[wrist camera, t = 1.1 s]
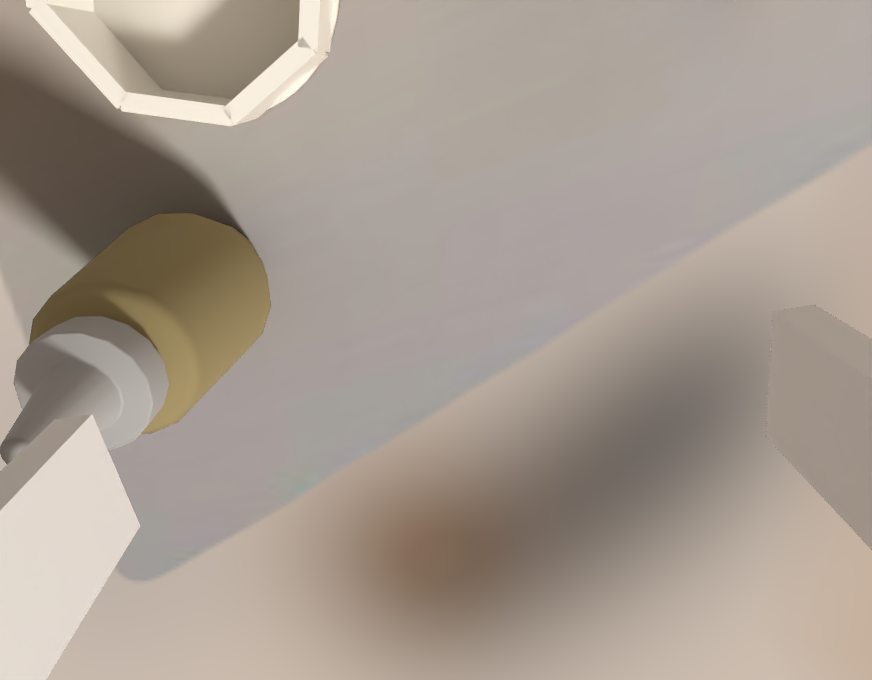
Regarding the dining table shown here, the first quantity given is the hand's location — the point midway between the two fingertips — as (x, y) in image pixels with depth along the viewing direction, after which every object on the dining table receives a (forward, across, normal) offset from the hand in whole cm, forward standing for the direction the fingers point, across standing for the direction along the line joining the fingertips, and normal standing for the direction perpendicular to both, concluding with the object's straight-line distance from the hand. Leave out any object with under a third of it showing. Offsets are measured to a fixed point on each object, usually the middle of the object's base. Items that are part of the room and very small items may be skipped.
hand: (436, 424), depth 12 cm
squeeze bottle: (+23, -12, -2) cm, 26 cm away
